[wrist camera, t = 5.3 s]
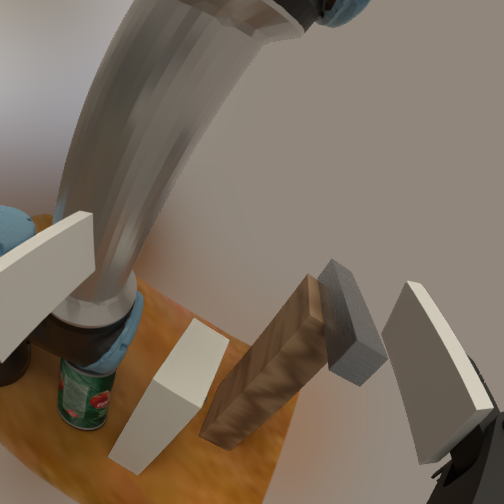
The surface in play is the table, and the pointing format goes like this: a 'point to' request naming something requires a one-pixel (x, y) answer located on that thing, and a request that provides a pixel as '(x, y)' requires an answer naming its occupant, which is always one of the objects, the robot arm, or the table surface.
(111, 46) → the robot arm
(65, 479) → the table surface
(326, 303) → the grey square bar
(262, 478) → the table surface
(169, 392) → the cream rectangular box
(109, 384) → the canned tomato
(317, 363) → the tall cabinet
